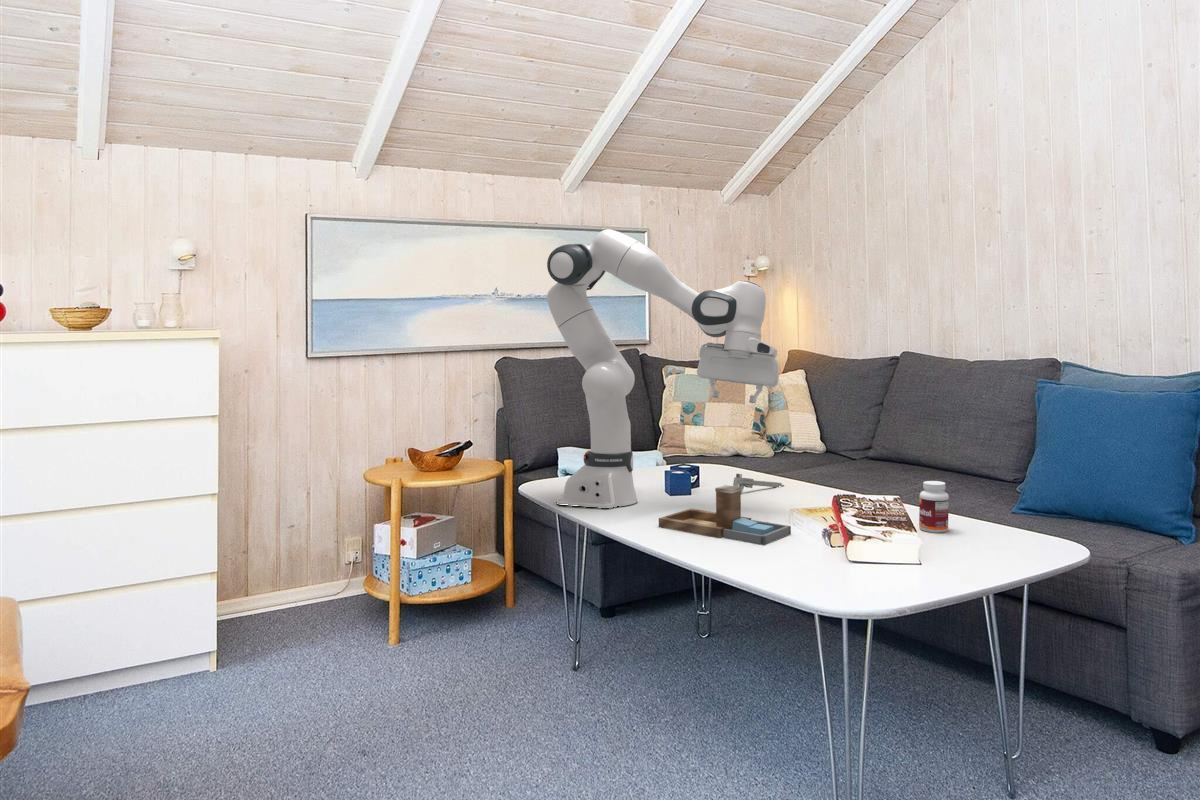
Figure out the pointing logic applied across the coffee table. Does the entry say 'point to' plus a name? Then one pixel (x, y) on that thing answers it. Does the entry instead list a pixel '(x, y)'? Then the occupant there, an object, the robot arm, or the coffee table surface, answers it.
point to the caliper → (752, 482)
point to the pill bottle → (934, 507)
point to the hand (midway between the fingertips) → (733, 400)
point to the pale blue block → (742, 524)
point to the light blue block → (760, 529)
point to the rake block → (727, 505)
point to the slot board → (693, 522)
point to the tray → (764, 539)
